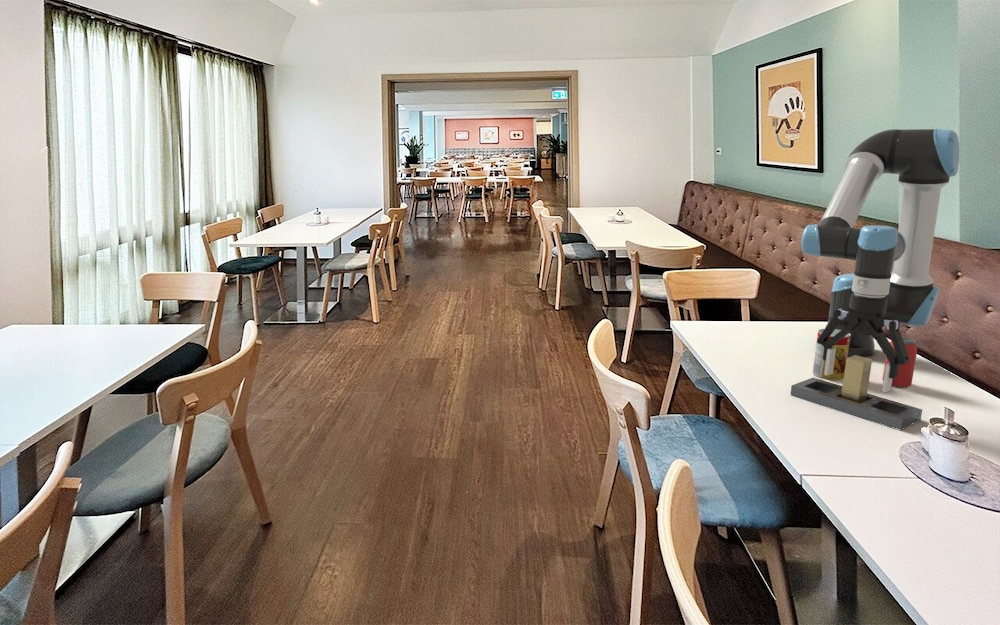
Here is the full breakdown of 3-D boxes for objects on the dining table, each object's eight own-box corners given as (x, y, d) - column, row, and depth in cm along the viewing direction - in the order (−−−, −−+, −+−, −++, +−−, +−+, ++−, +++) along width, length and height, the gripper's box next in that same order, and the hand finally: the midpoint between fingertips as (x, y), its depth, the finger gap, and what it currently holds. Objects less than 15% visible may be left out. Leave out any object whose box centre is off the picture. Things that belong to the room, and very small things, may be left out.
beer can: (910, 390, 173) (918, 345, 170) (881, 385, 177) (888, 341, 174) (911, 382, 179) (918, 339, 176) (882, 378, 182) (889, 335, 179)
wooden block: (848, 402, 165) (855, 355, 162) (864, 407, 162) (872, 359, 159) (839, 405, 163) (846, 358, 160) (856, 411, 160) (863, 362, 157)
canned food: (851, 379, 181) (857, 336, 178) (825, 381, 179) (831, 337, 176) (831, 369, 188) (837, 327, 185) (806, 371, 187) (811, 329, 184)
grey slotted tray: (811, 386, 175) (812, 377, 175) (920, 419, 155) (922, 409, 155) (790, 394, 170) (791, 385, 169) (900, 430, 149) (902, 419, 149)
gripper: (808, 286, 163) (798, 370, 168) (921, 307, 144) (905, 401, 149) (825, 282, 167) (814, 365, 173) (936, 302, 148) (920, 394, 153)
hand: (856, 382), depth 161 cm, fingers open, 13 cm apart
